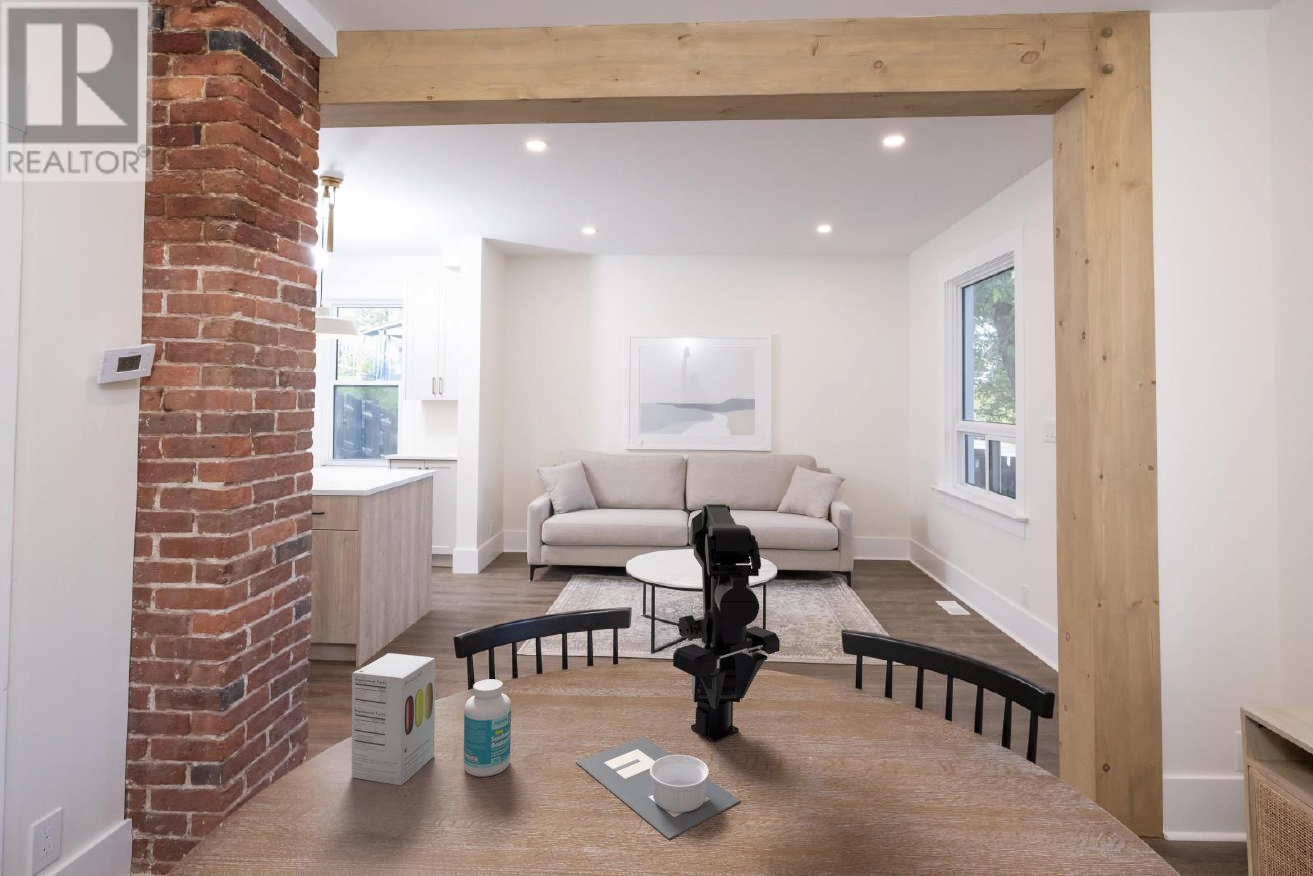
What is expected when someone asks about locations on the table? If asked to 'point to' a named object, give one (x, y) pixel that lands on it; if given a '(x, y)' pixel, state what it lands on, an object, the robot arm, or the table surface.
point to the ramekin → (679, 782)
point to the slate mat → (649, 786)
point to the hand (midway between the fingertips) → (727, 702)
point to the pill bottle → (487, 729)
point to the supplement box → (393, 718)
